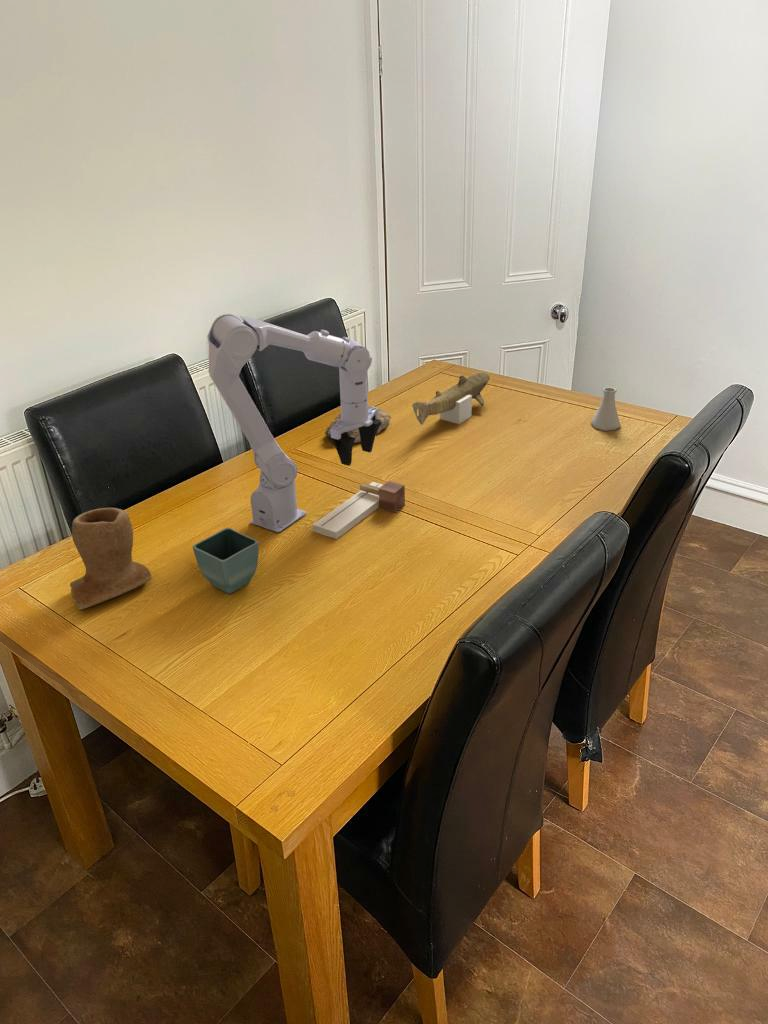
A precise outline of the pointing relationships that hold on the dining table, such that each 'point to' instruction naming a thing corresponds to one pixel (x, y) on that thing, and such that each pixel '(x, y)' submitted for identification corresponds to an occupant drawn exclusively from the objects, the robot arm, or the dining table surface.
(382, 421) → the grey brown rock
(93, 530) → the stone cup
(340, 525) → the board
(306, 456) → the dining table surface
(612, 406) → the flask
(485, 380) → the wood carving
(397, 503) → the chocolate popsicle
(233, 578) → the flower pot
